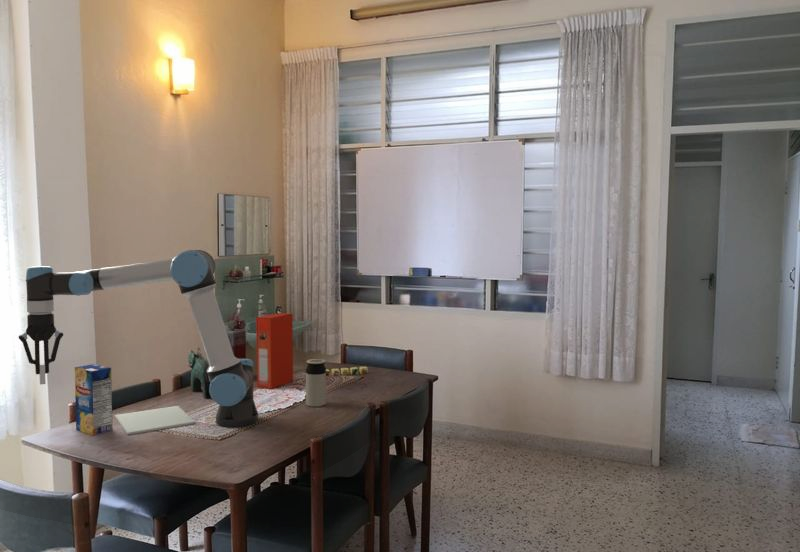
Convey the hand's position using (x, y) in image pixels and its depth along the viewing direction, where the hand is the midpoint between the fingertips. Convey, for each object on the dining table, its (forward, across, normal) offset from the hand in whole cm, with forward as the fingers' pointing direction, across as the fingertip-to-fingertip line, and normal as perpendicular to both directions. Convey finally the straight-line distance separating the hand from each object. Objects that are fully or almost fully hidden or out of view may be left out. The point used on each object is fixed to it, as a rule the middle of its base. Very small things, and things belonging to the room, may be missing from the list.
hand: (42, 383), depth 195 cm
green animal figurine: (+19, -60, -28) cm, 69 cm away
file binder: (+19, -93, -27) cm, 99 cm away
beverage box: (+19, -15, 0) cm, 24 cm away
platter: (+19, -130, -25) cm, 134 cm away
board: (+18, -35, 0) cm, 39 cm away
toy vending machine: (+19, -79, -47) cm, 94 cm away
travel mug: (+19, -94, +13) cm, 97 cm away
